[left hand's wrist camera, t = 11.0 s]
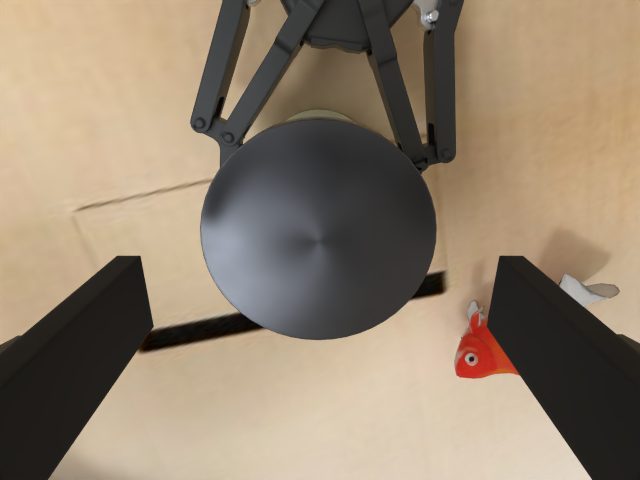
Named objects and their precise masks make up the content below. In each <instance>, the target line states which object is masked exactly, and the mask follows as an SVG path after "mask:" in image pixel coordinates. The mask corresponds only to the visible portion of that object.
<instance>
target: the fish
mask: <svg viewBox="0 0 640 480" xmlns="http://www.w3.org/2000/svg"><path fill="white" fill-rule="evenodd" d="M559 287H561V288H562V289H563V290H564V291H565V292H567V293H568V294H569V295H570V296H571V297H573V298H574V299H575V300H576V301H577V302H579V303H580V304H581V305H582V306H583V307H584V306H586V305H589V304H591V303H594V302H597V301H600V300H604V299H609V298H612V297H614V296H616V295H617V294H618V293H619V292H620V291H619V289H618V287H616V286H615V285H611V284H595V285H590V286H584V285H583V284H582V283H581V282H579V281H578V280H576V279H574V278H572V277H571V276H569V275H567V274H564V276H563V278H562V280H561V281H560V283H559ZM484 306H485V305H484ZM484 306H483V307H481V308H480V309H479V307H478V305H477V302H476V301H473V302H472V303H471V304H470V307H469V309H468V312H467V317H468V320H469V322H470V327H469V328H468V329H467V330H466V332H465V333H464V335H463V337H461V341H460V343H459V346H458V349H457V352H456V356H455V361H454V363H455V371H456V375H457V376H459V377H463V378H473V379H474V378H483V377H486V376H489V375H492V374H500V373H513V374H516V375H519V373H518V372H517V370H516V369H515V367H514V366H513V364H512V363H511V361H510V360H509V359H508V357H507V356H506V354H505V353H504V351H503V350H502V348H501V347H500V346H499V344H498V343H497V341H496V340H495V338H494V337H493V335H492V334H491V333H490V331H489V330H488V328H487V327H486V326H487V321H488V318H486V319H484V314H483V313H482V311H483V308H484Z"/></svg>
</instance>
